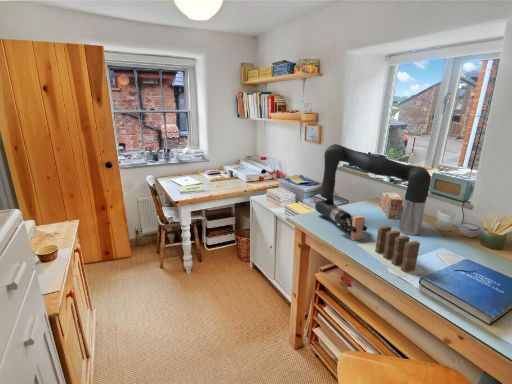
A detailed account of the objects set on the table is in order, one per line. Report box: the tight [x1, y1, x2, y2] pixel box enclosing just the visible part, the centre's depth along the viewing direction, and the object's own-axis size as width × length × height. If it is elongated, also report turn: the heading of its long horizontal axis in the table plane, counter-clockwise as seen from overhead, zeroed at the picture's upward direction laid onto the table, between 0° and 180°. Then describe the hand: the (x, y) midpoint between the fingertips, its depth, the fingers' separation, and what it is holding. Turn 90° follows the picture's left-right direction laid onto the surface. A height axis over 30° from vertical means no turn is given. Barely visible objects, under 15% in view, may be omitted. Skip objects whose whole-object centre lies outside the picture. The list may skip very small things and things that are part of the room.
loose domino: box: [350, 215, 365, 241], centre depth 136 cm, size 2×5×12 cm, turn 107°
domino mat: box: [357, 240, 426, 278], centre depth 122 cm, size 27×12×1 cm, turn 17°
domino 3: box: [392, 234, 411, 266], centre depth 115 cm, size 2×5×12 cm, turn 107°
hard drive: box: [435, 253, 463, 267], centre depth 117 cm, size 2×8×12 cm
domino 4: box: [401, 240, 421, 272], centre depth 110 cm, size 2×5×12 cm, turn 107°
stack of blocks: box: [379, 192, 404, 221], centre depth 169 cm, size 21×6×12 cm, turn 170°
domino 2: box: [383, 229, 401, 259], centre depth 120 cm, size 2×5×12 cm, turn 107°
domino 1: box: [375, 225, 392, 254], centre depth 124 cm, size 2×5×12 cm, turn 107°
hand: (360, 230), depth 134 cm, fingers closed on loose domino, 5 cm apart
